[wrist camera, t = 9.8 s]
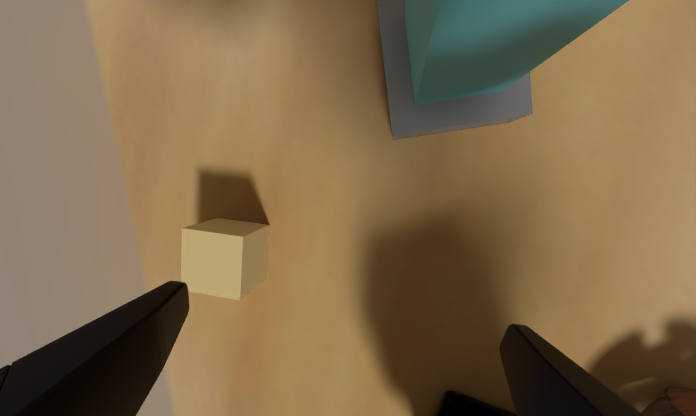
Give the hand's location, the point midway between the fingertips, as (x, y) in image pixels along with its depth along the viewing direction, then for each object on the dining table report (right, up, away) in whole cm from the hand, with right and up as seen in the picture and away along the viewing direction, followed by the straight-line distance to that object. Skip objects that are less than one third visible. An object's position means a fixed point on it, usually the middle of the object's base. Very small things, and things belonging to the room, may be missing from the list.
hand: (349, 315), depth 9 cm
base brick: (+6, +11, +11) cm, 17 cm away
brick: (-8, 0, +15) cm, 17 cm away
